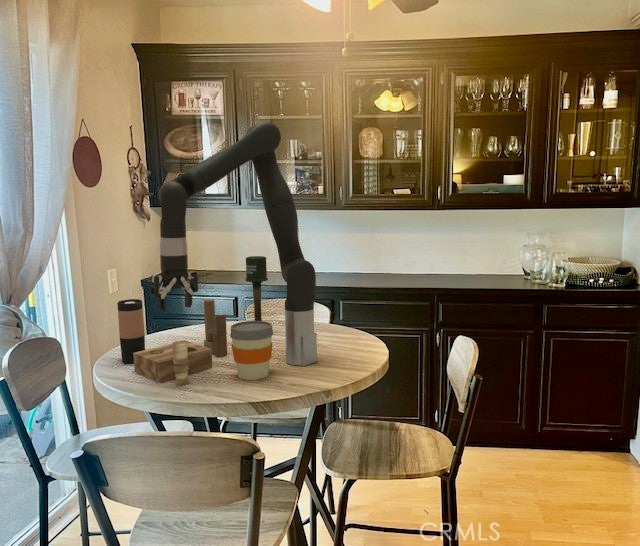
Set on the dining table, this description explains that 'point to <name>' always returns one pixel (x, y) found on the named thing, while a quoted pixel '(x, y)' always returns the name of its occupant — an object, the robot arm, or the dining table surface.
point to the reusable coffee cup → (252, 348)
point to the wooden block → (215, 330)
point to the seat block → (170, 361)
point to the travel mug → (131, 328)
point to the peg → (180, 362)
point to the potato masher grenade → (256, 280)
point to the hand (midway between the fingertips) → (175, 309)
